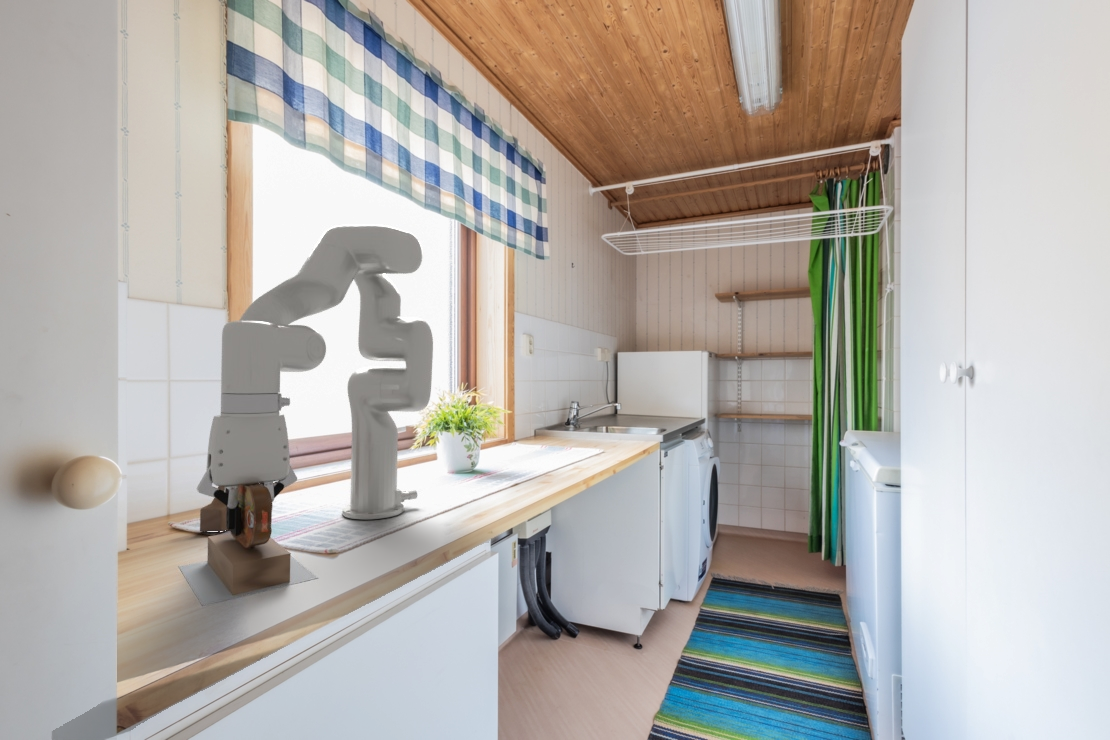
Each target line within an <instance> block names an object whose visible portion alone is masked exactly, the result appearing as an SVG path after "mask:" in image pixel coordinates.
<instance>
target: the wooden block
mask: <svg viewBox="0 0 1110 740" xmlns="http://www.w3.org/2000/svg"><path fill="white" fill-rule="evenodd" d="M217 488H219V489H221V490H222V491H225V487H220V486H217ZM226 512H227V506H226V505H225V504H223V503H222V502H221V501H219V500H218V499H217V498H215V497H213V499H212V501H211V502H210V503H209V504H207V505H205V506H204V507H201V508H200V512H199V513H200V515H199V516H200V517H199V518H200V519H199V531H218V532H220V531H225V530H227V531H229V530H228V529H227V527H226ZM225 532H226V531H225Z"/></svg>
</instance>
